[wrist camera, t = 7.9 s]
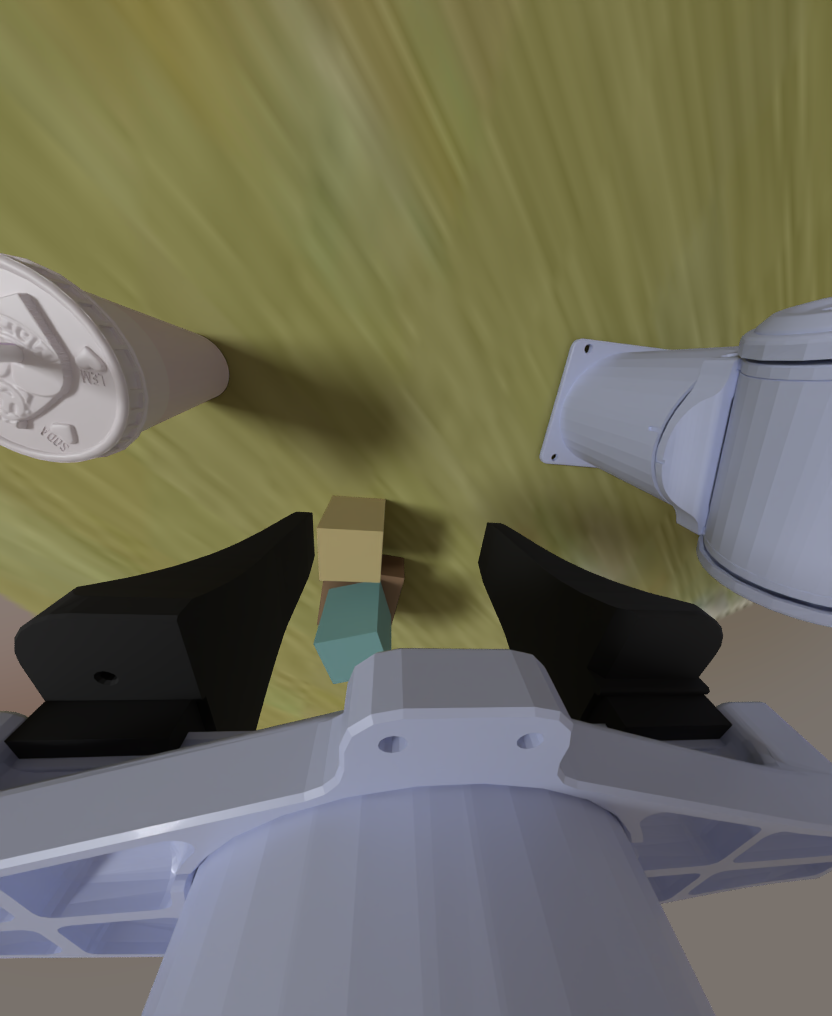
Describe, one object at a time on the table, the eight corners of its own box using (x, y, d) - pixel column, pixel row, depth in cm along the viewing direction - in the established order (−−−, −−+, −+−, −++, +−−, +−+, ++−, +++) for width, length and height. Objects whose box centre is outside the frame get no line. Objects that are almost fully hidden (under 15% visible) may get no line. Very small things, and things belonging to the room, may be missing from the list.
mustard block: (385, 498, 23) (383, 531, 18) (383, 542, 25) (380, 582, 20) (332, 495, 23) (316, 527, 18) (333, 540, 24) (319, 580, 20)
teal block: (391, 616, 25) (391, 672, 20) (343, 625, 25) (333, 683, 20) (379, 578, 23) (376, 631, 18) (329, 589, 23) (313, 643, 18)
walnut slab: (403, 555, 26) (404, 578, 23) (389, 607, 28) (389, 633, 25) (332, 544, 25) (325, 566, 22) (324, 598, 27) (317, 624, 24)
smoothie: (267, 350, 18) (-24, 316, 6) (232, 439, 20) (-37, 562, 8) (153, 277, 16) (-676, -22, 4) (127, 383, 18) (-453, 425, 6)
